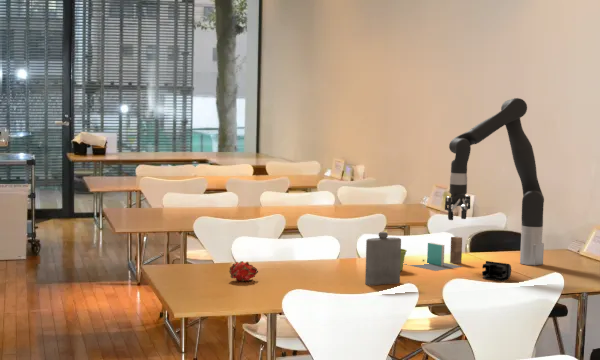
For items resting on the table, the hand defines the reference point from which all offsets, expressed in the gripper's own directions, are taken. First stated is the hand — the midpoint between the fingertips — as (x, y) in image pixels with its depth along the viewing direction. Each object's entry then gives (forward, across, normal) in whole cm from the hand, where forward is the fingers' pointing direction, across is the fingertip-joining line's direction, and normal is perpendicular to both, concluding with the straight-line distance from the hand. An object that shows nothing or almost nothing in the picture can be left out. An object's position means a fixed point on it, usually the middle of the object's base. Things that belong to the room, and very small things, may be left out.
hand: (457, 219), depth 371 cm
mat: (+20, -13, +3) cm, 24 cm away
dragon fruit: (+20, -101, +20) cm, 105 cm away
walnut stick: (+20, 0, 0) cm, 20 cm away
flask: (+20, -58, -13) cm, 63 cm away
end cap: (+20, -12, -32) cm, 40 cm away
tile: (+20, -10, +3) cm, 22 cm away
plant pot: (+20, -34, +4) cm, 40 cm away
